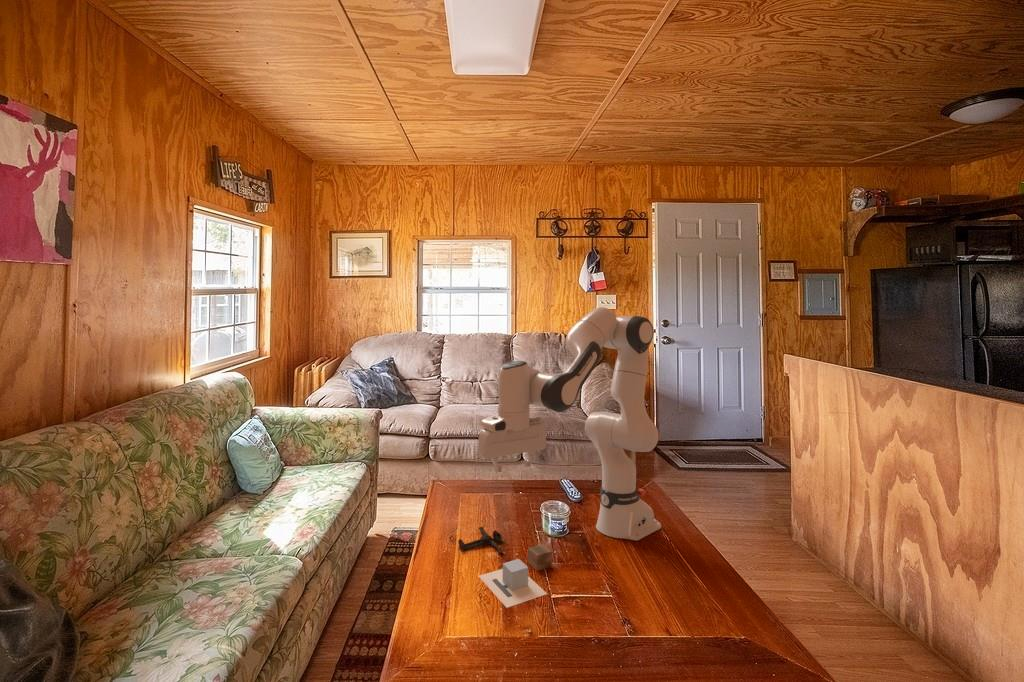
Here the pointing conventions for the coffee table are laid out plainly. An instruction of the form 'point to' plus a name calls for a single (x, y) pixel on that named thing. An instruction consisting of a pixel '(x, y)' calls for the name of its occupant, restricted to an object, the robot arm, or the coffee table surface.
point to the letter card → (506, 594)
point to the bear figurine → (483, 541)
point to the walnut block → (539, 557)
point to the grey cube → (515, 574)
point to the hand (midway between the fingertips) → (512, 469)
